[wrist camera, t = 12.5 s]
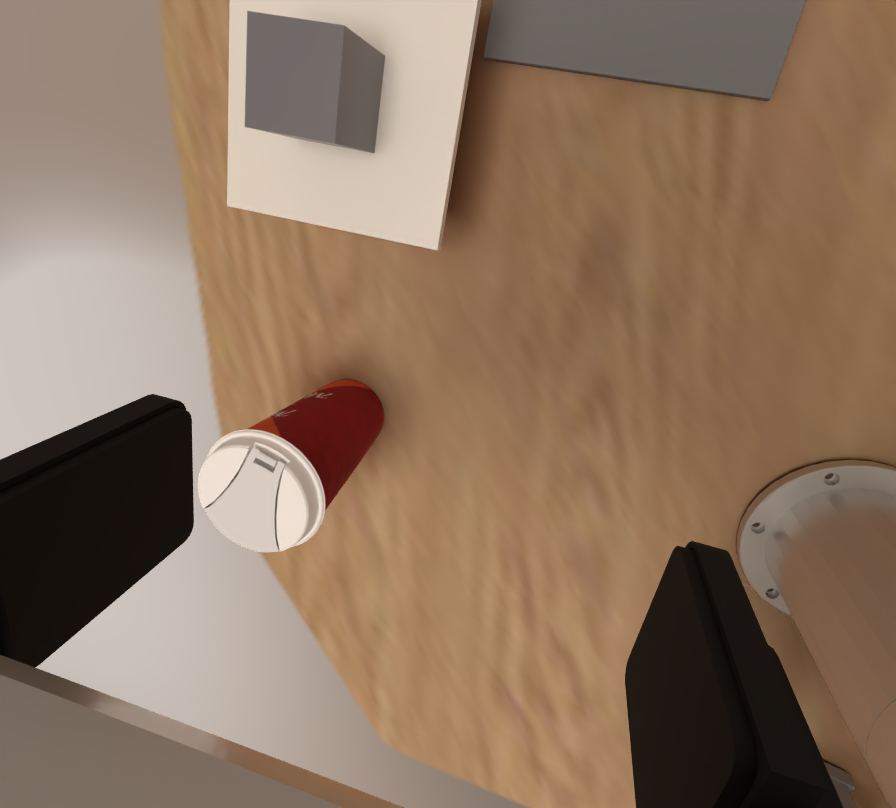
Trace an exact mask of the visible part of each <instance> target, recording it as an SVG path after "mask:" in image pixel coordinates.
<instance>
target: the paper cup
mask: <svg viewBox="0 0 896 808" xmlns="http://www.w3.org/2000/svg"><path fill="white" fill-rule="evenodd" d="M383 422H384V412H383V408H382V405H381V402H380V400H379V398H378V397H377V396H376V394H375V393H374V392H373V391H372V390H371V389H370V388H369V387H367V386H366V385H364V384H362V383H360V382H358V381H354V380H339V381H336V382H333V383H331V384H329V385H327V386H325V387H323V388H321V389H319V390H317V391H315V392H313V393H312V394H310V395H308V396H306V397H304V398H302V399H301V400H299V401H297V402H295V403H293V404H292V405H290V406H288V407H286V408H284V409H283V410H281V411H279V412H277V413H275V414H274V415H272V416H270V417H268V418H267V419H265V420H263V421H261V422H259V423H258V424H256V425H254V426H252V427H250V428H249V429H243V430H238V431H234V432H231V433H229V434H227V435H225V436H223V437H222V438H220V439H219V440H218V441H217V442H216V443H215V444H214V445H213V447H212V448H211V450H210V451H209V453H208V456H207V458H206V461H205V462H204V464H203V466H202V468H201V470H200V474H199V478H198V493H199V499H200V502H201V505H202V507H203V508H204V511H205V513H206V514H207V516H208V517H209V519H210V520H211V521H212V523H213V524H214V526H215V527H216V528H217V529H218V530H219V531H220V532H221V533H222V534H223V535H224V536H225V537H227V538H228V539H230V540H231V541H233V542H234V543H236V544H238V545H240V546H242V547H244V548H247V549H249V550H252V551H257V552H279V551H284V550H286V549H288V548H290V547H293V546H297V545H300V544H302V543H304V542H306V541H307V540H308V539H310V538H311V537H312V536H313V535H314V534H315V533H316V532H317V530H318V529H319V527H320V525H321V523H322V521H323V518H324V514H325V510H326V509H327V507H328V506H329V504H330V503H331V502H332V500H333V499H334V497H335V496H336V495H337V493H338V492H339V490H340V489H341V488H342V486H343V485H344V484H345V482H346V481H347V479H348V478H349V477H350V475H351V474H352V472H353V471H354V469H355V468H356V467H357V465H358V464H359V462H360V461H361V460H362V458H363V457H364V455H365V454H366V452H367V451H368V450H369V448H370V447H371V445H372V444H373V442H374V441H375V439H376V438H377V436H378V434H379V433H380V431H381V429H382V426H383ZM207 505H208V506H207Z"/></svg>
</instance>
